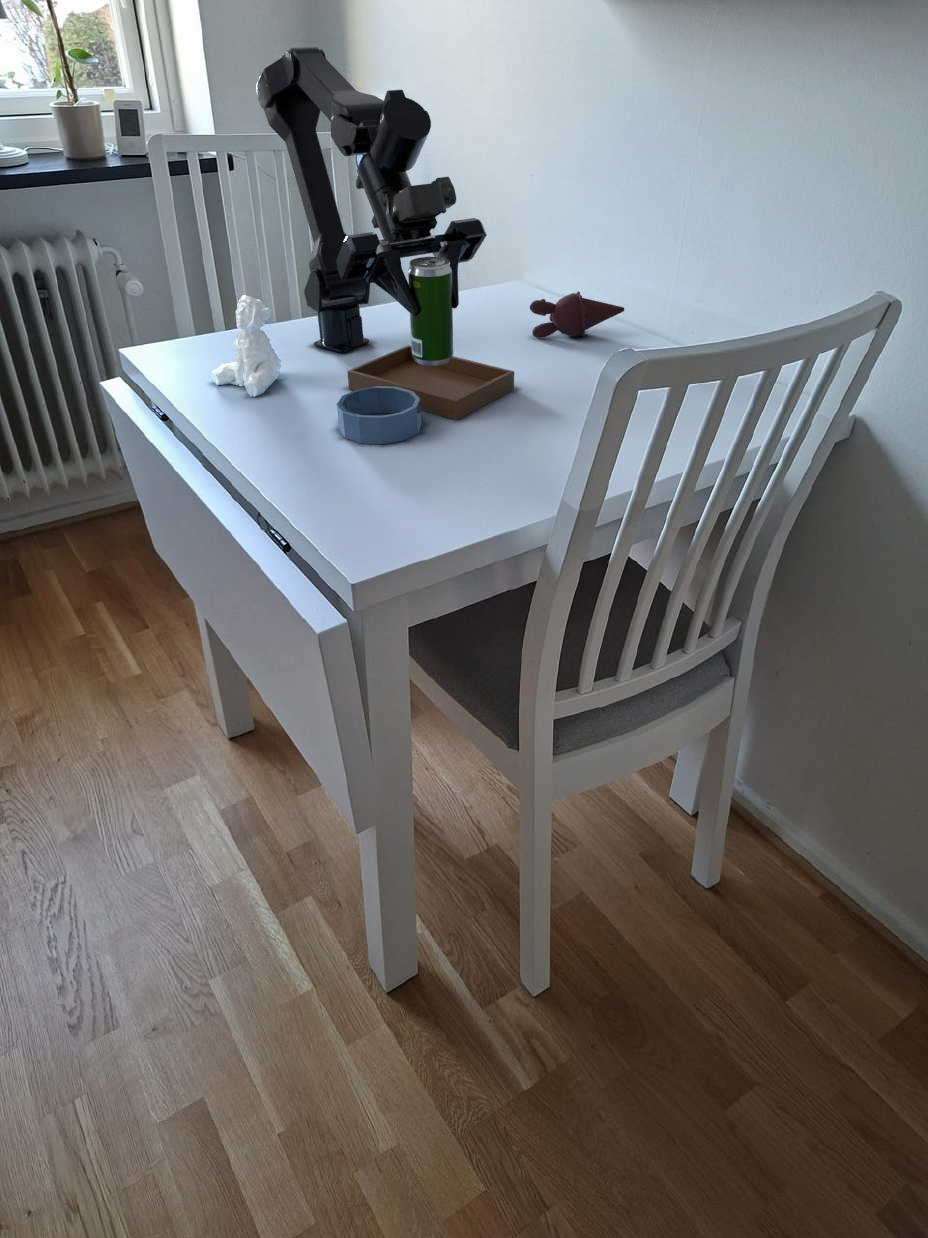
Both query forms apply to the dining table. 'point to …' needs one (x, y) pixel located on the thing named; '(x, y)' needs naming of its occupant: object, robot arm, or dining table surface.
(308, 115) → the robot arm
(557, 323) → the icecream
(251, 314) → the white creature statuette
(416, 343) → the beer can
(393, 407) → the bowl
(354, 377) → the tray
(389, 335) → the dining table surface
